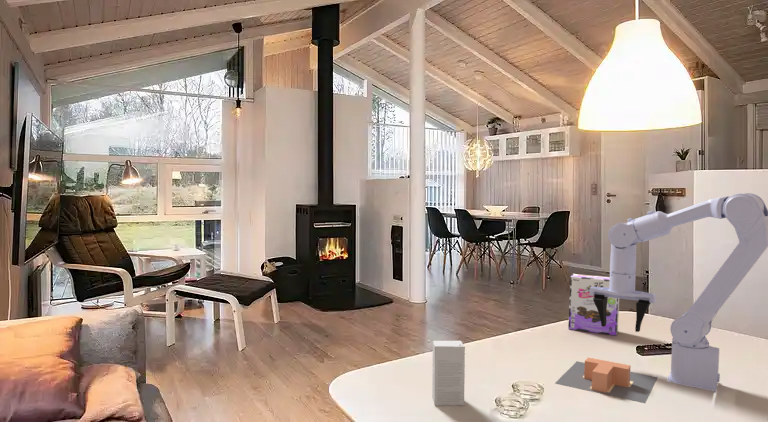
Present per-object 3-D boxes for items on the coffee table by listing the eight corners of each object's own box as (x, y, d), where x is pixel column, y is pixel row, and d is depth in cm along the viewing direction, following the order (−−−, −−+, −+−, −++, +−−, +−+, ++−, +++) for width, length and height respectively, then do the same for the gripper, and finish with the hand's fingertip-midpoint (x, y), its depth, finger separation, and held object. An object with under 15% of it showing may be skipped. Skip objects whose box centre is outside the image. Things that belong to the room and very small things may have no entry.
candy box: (567, 329, 165) (569, 275, 164) (570, 325, 170) (572, 272, 169) (616, 336, 158) (619, 280, 157) (618, 331, 164) (620, 277, 163)
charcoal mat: (657, 379, 124) (657, 376, 124) (644, 405, 109) (644, 403, 109) (576, 363, 134) (576, 361, 134) (554, 385, 119) (554, 383, 119)
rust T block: (629, 383, 120) (630, 365, 119) (621, 396, 112) (622, 377, 112) (587, 374, 125) (588, 357, 124) (577, 386, 117) (577, 368, 117)
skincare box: (460, 397, 112) (461, 340, 111) (464, 406, 107) (465, 346, 107) (431, 397, 111) (432, 340, 111) (433, 406, 107) (434, 346, 106)
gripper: (658, 273, 130) (656, 329, 131) (595, 267, 138) (593, 320, 139) (654, 277, 124) (651, 336, 125) (588, 271, 132) (586, 326, 133)
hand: (620, 328), depth 132 cm, fingers open, 7 cm apart
